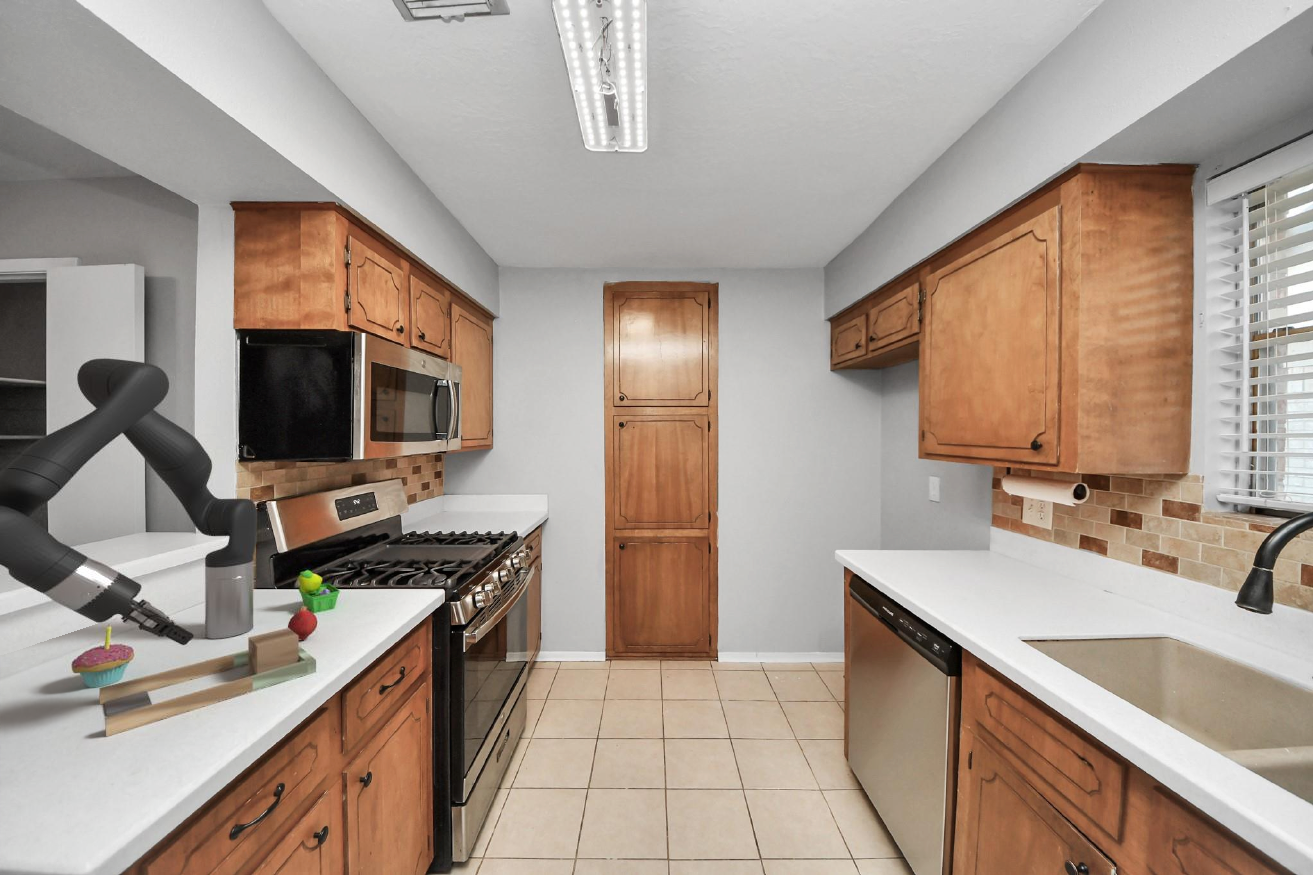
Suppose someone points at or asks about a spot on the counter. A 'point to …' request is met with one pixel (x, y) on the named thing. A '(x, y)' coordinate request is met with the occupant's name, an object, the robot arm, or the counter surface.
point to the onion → (303, 623)
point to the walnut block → (272, 650)
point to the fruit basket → (316, 592)
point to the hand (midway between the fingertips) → (188, 639)
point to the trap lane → (135, 709)
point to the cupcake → (103, 663)
